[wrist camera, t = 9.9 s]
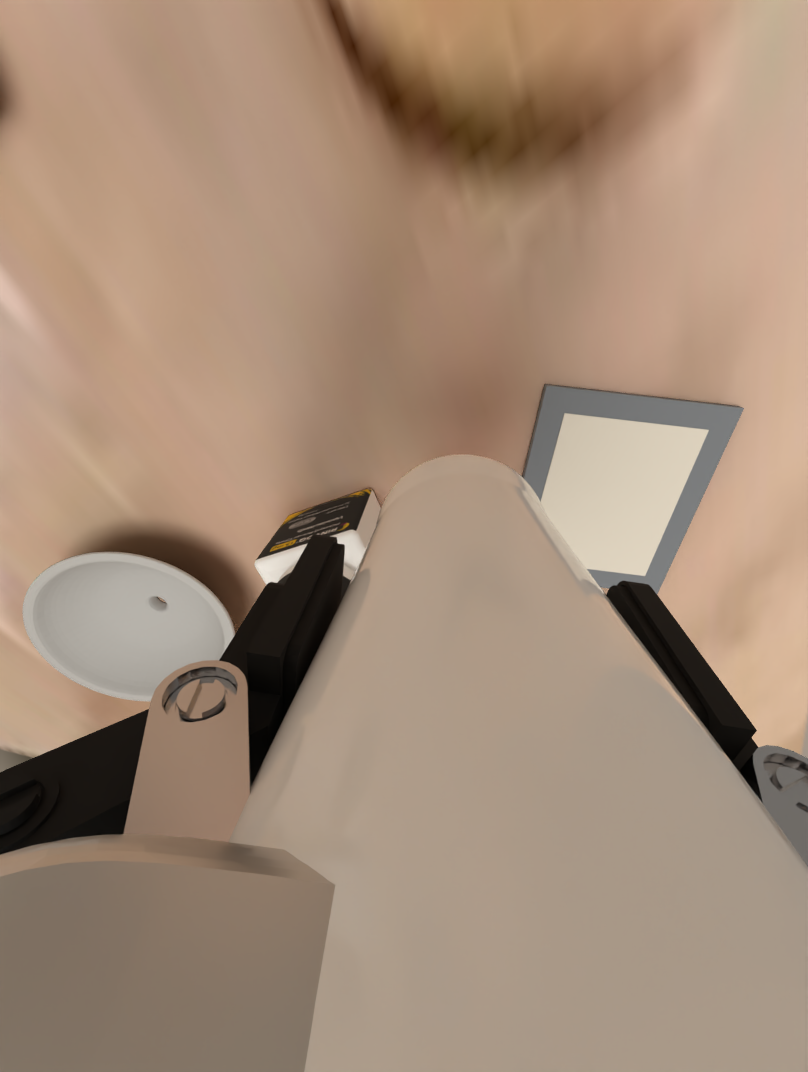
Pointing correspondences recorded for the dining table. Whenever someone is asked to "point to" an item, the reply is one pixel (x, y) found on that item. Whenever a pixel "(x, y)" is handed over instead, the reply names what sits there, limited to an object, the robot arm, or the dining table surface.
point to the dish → (123, 621)
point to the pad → (624, 475)
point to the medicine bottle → (336, 518)
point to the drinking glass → (522, 818)
